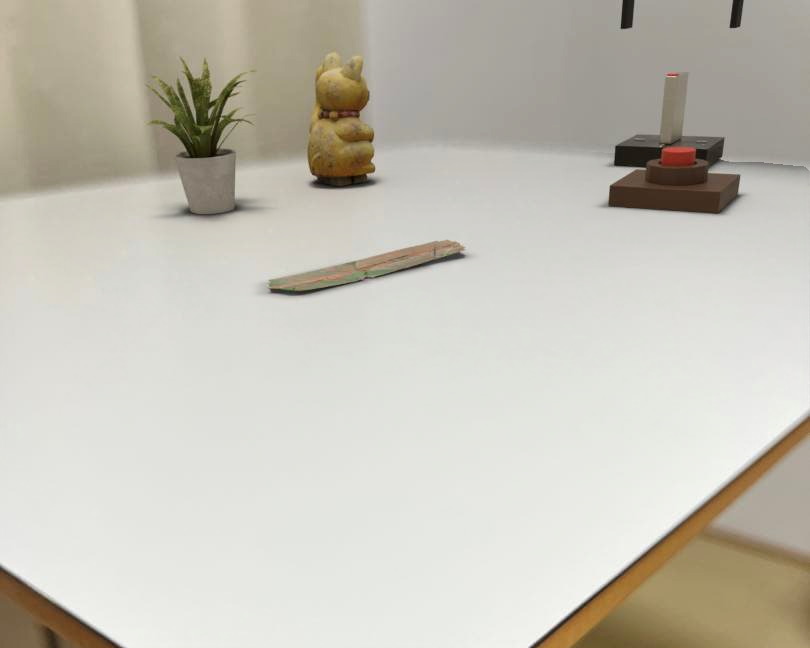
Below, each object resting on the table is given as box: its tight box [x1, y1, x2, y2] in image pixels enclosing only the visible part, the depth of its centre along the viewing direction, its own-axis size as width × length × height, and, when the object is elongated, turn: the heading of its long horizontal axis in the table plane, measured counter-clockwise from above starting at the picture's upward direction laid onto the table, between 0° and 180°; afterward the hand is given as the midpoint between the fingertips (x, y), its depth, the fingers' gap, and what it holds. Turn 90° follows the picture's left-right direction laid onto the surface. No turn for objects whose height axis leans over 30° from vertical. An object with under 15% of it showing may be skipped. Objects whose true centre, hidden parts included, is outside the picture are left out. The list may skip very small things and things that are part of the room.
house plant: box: [144, 56, 256, 215], centre depth 106 cm, size 14×14×16 cm
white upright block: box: [659, 71, 690, 144], centre depth 123 cm, size 6×2×8 cm, turn 152°
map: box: [267, 239, 466, 292], centre depth 85 cm, size 5×20×1 cm, turn 126°
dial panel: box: [613, 133, 726, 168], centre depth 126 cm, size 12×10×3 cm
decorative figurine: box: [306, 51, 376, 187], centre depth 118 cm, size 10×8×15 cm
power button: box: [661, 147, 696, 166], centre depth 103 cm, size 4×4×2 cm
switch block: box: [607, 159, 741, 214], centre depth 105 cm, size 12×10×4 cm
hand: (679, 28), depth 118 cm, fingers open, 13 cm apart
